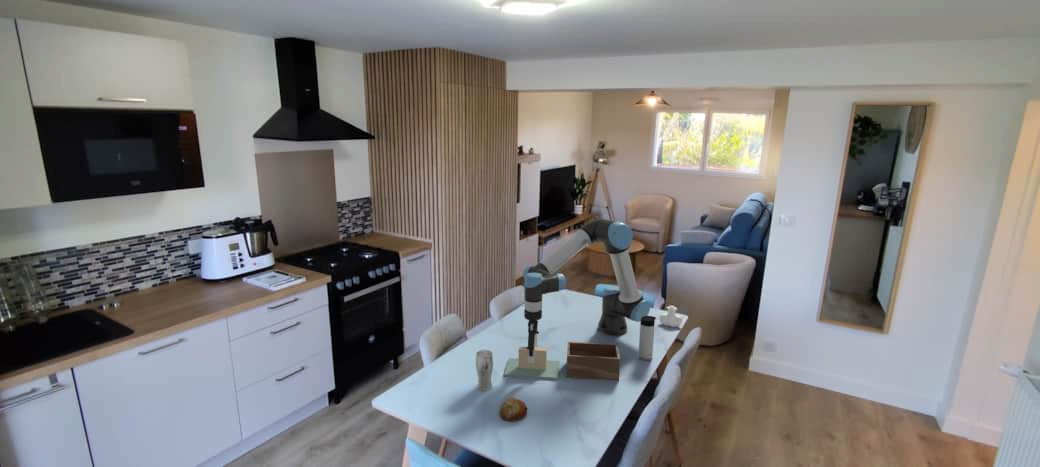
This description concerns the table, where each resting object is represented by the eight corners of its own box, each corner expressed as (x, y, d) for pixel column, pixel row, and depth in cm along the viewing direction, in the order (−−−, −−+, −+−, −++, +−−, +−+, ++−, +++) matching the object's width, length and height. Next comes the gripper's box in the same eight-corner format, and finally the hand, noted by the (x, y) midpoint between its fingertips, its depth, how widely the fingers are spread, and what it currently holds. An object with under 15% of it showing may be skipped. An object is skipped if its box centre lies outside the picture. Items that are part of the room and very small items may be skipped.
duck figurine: (681, 330, 260) (684, 310, 265) (681, 326, 254) (683, 305, 258) (658, 326, 265) (661, 307, 269) (657, 322, 258) (660, 302, 263)
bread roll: (503, 415, 185) (494, 398, 183) (528, 404, 185) (519, 387, 183) (505, 431, 175) (495, 414, 173) (531, 419, 175) (521, 401, 173)
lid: (509, 361, 221) (509, 339, 219) (559, 364, 218) (559, 342, 216) (503, 377, 207) (503, 354, 204) (557, 381, 204) (558, 358, 202)
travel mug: (653, 361, 220) (656, 320, 216) (638, 360, 222) (641, 319, 217) (652, 355, 226) (655, 315, 222) (638, 353, 228) (640, 313, 223)
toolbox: (567, 362, 219) (567, 341, 217) (616, 365, 217) (617, 344, 215) (566, 377, 206) (567, 355, 204) (619, 380, 203) (620, 359, 201)
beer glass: (495, 384, 200) (495, 350, 197) (489, 393, 194) (489, 358, 190) (480, 381, 202) (479, 348, 199) (473, 389, 196) (472, 355, 193)
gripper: (527, 298, 219) (526, 342, 223) (521, 319, 195) (520, 368, 199) (543, 299, 218) (543, 343, 223) (539, 320, 194) (538, 369, 198)
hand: (532, 355), depth 211 cm, fingers open, 13 cm apart
